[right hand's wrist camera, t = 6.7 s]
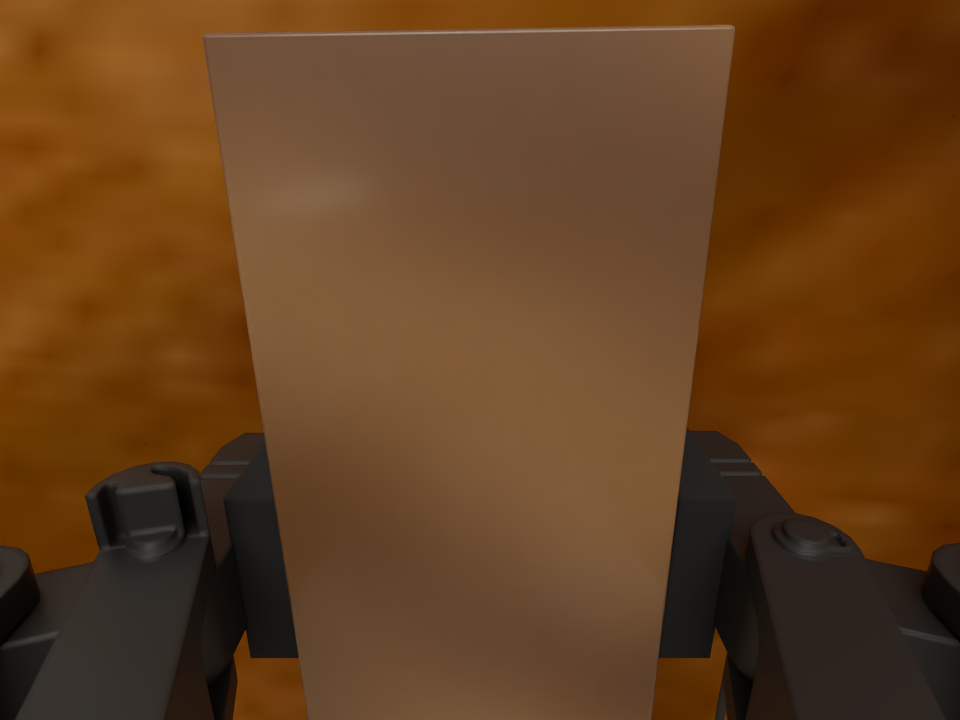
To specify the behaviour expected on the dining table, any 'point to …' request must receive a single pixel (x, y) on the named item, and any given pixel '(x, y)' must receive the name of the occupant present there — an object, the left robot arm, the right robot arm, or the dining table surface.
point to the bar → (474, 349)
